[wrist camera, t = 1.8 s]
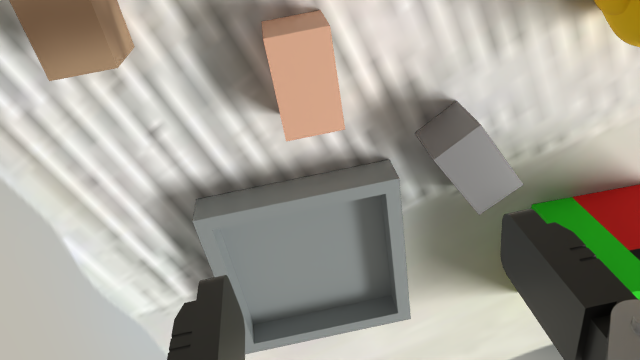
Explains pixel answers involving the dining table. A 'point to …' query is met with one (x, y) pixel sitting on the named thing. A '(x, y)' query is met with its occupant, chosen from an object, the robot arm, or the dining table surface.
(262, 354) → the dining table surface
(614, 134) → the dining table surface
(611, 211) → the puzzle toy
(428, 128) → the charcoal brick
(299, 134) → the terracotta brick
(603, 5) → the duckling
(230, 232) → the slate tray
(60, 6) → the walnut brick
